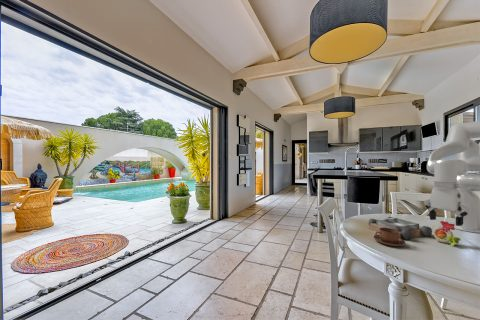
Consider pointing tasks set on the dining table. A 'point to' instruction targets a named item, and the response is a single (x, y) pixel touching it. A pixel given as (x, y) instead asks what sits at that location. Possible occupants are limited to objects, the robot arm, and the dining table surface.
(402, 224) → the chassis
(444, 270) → the dining table surface
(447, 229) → the bird rattle
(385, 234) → the cup and saucer
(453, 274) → the dining table surface
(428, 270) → the dining table surface
